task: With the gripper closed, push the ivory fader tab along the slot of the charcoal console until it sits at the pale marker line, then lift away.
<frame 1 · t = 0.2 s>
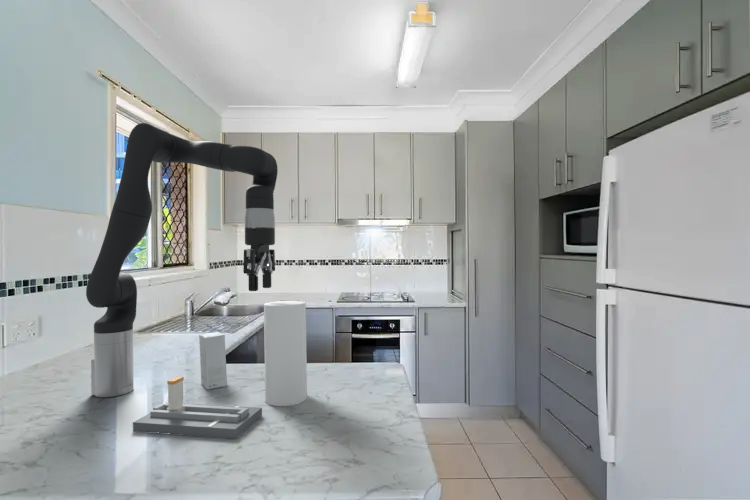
hand: (260, 289, 107), 29 cm above the countertop, fingers open, 8 cm apart
skincare box: (213, 385, 121), on the countertop
tall pillar cylinder: (286, 399, 108), on the countertop
console: (200, 423, 93), on the countertop
fader tab: (175, 395, 94), point 6 cm above the countertop, slide at -6.0 cm
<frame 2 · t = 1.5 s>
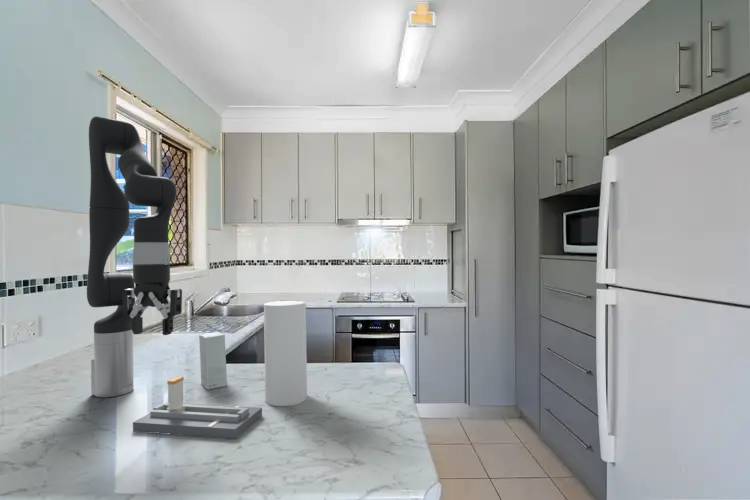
hand: (152, 334, 96), 20 cm above the countertop, fingers open, 7 cm apart
nothing on the countertop moved.
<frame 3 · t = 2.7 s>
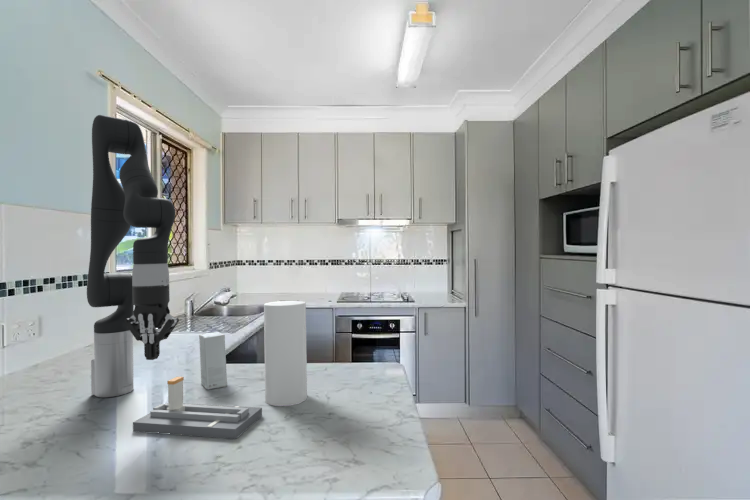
hand: (152, 359, 95), 14 cm above the countertop, fingers closed
nothing on the countertop moved.
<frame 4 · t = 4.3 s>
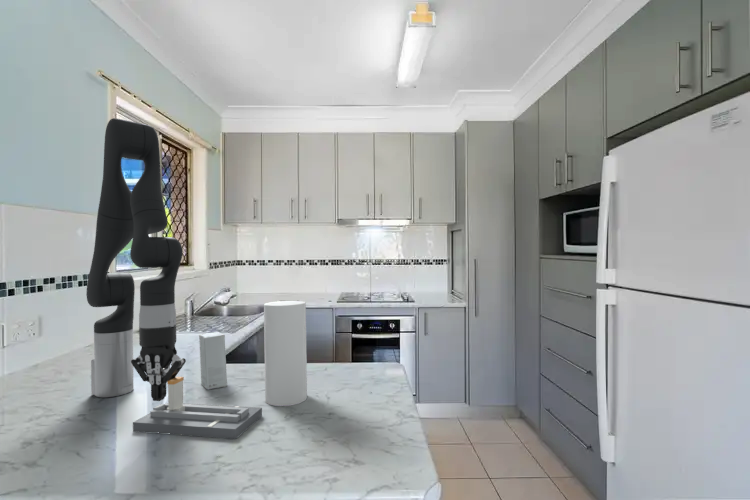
hand: (158, 399, 95), 5 cm above the countertop, fingers closed
nothing on the countertop moved.
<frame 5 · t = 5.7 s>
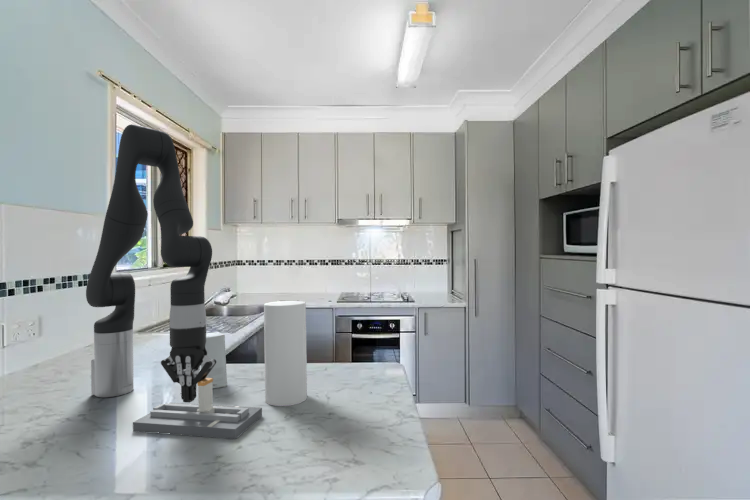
hand: (189, 401, 93), 5 cm above the countertop, fingers closed
fader tab: (205, 397, 93), point 6 cm above the countertop, slide at 1.5 cm, touching hand
everything else where it was.
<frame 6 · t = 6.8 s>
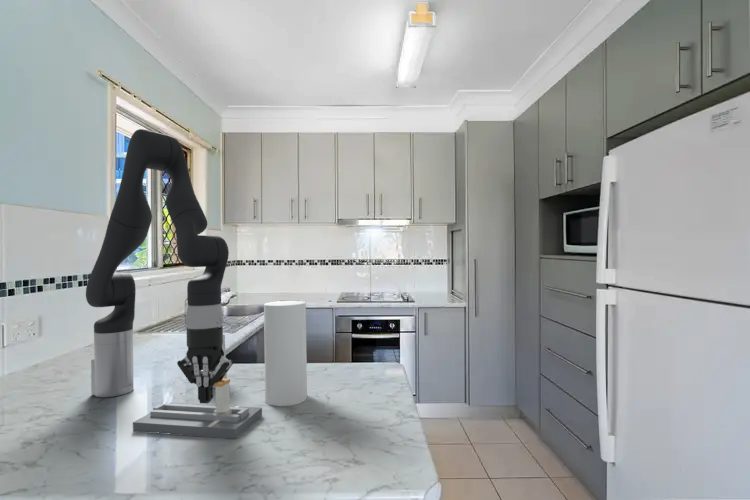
hand: (205, 402, 93), 5 cm above the countertop, fingers closed
fader tab: (222, 398, 92), point 6 cm above the countertop, slide at 5.6 cm, touching hand
everything else where it was.
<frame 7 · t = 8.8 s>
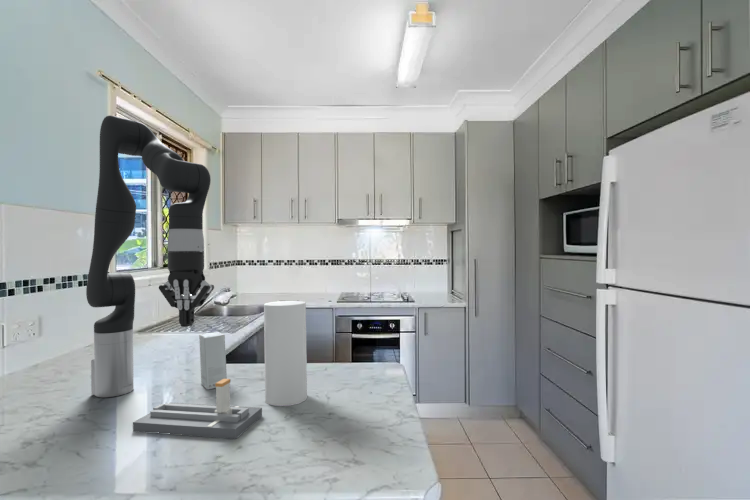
hand: (186, 326, 94), 22 cm above the countertop, fingers closed
fader tab: (223, 398, 92), point 6 cm above the countertop, slide at 5.8 cm
everything else where it was.
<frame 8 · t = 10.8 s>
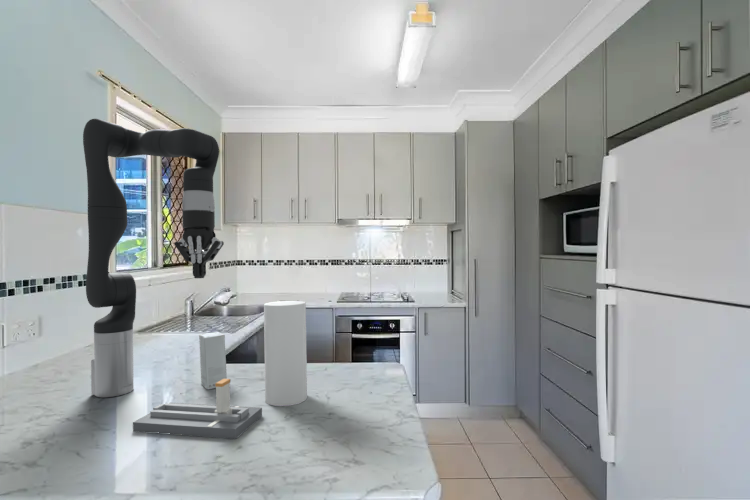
hand: (199, 278, 105), 32 cm above the countertop, fingers closed
nothing on the countertop moved.
at the end: fader tab slide at 5.8 cm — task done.
